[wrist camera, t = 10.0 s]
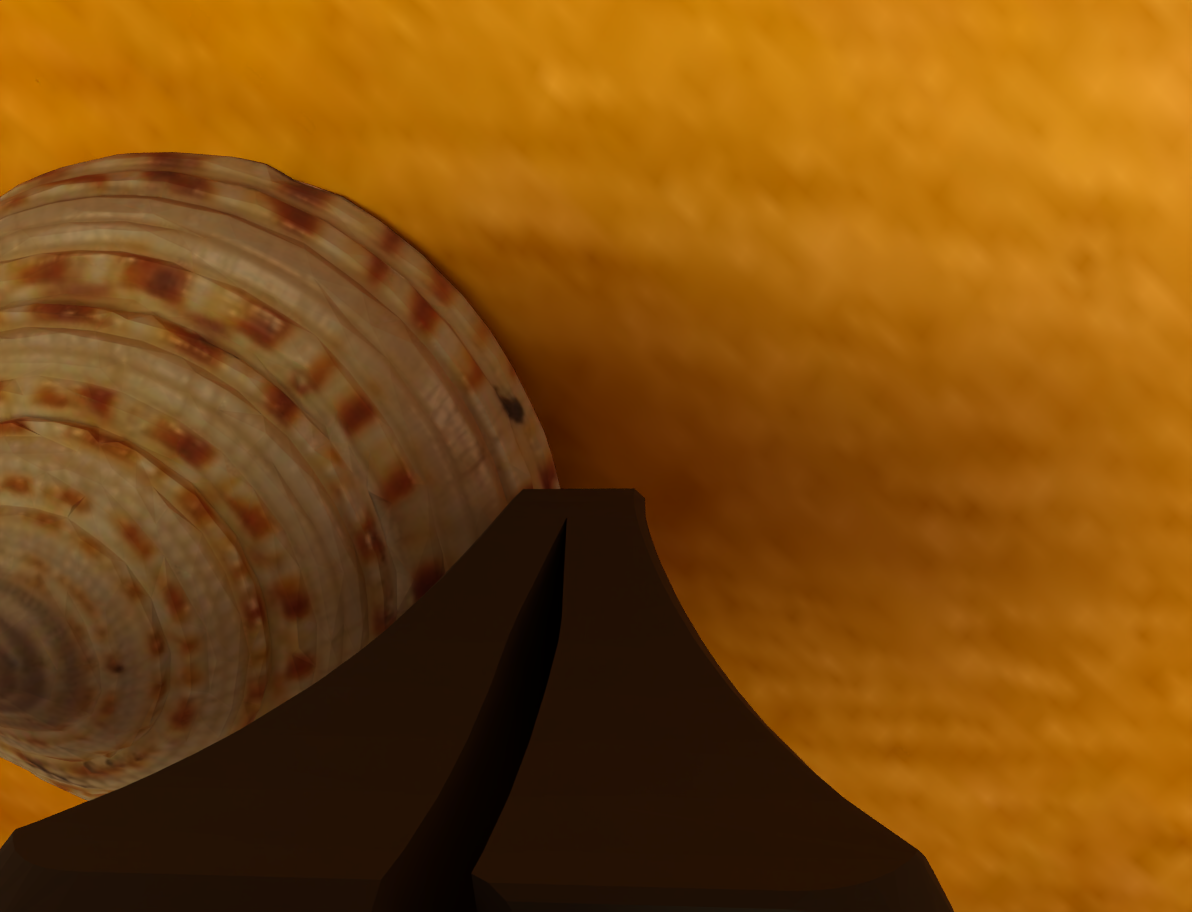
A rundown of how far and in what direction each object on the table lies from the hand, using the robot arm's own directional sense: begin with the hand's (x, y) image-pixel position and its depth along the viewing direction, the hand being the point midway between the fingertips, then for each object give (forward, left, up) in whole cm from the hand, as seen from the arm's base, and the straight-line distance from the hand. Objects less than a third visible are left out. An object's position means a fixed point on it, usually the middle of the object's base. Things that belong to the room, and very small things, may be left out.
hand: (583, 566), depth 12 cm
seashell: (0, +4, -2) cm, 5 cm away
